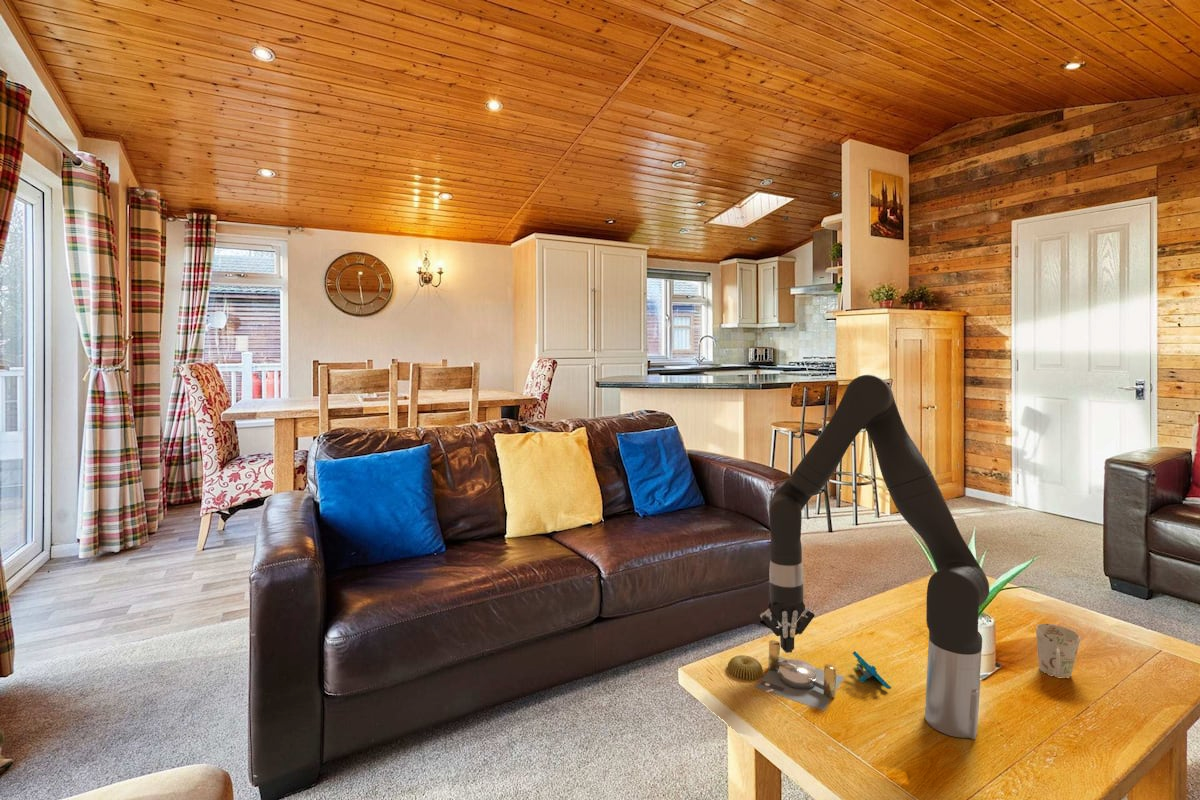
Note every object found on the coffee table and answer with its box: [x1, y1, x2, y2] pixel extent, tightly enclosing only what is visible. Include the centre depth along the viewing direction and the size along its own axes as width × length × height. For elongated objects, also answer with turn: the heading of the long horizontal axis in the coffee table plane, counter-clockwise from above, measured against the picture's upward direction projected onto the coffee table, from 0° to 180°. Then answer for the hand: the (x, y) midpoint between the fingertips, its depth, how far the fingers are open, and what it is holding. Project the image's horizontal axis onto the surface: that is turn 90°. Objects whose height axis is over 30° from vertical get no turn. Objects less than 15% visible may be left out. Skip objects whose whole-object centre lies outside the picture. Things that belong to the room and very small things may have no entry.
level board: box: [755, 656, 845, 712], centre depth 136 cm, size 15×18×2 cm
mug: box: [1035, 623, 1081, 678], centre depth 141 cm, size 8×13×10 cm, turn 148°
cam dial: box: [767, 639, 837, 698], centre depth 136 cm, size 16×8×6 cm, turn 40°
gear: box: [851, 650, 892, 689], centre depth 137 cm, size 11×6×10 cm
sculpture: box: [727, 654, 764, 681], centre depth 141 cm, size 8×4×8 cm
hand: (787, 651), depth 141 cm, fingers closed
